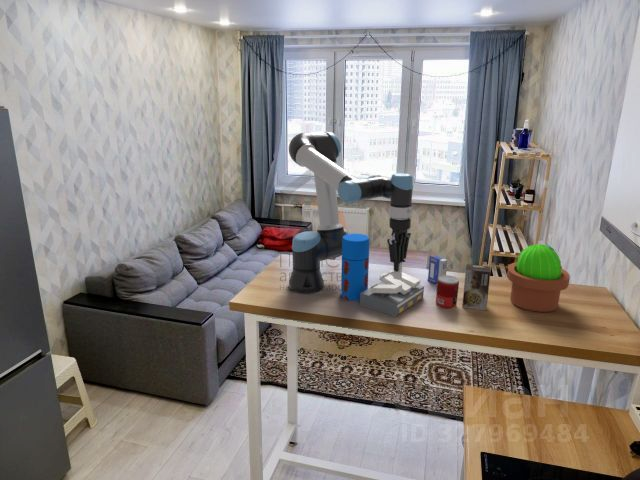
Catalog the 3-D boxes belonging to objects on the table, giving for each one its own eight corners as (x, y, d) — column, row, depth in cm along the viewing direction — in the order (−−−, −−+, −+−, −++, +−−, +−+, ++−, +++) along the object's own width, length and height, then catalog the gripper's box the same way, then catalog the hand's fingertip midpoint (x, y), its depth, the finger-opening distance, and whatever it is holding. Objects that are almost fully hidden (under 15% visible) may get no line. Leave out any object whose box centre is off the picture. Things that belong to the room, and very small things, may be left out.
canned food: (457, 309, 179) (459, 283, 175) (435, 307, 180) (438, 281, 177) (455, 301, 186) (458, 276, 183) (435, 299, 187) (437, 274, 184)
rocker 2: (379, 279, 185) (380, 274, 184) (385, 276, 188) (386, 271, 187) (404, 294, 179) (406, 289, 178) (410, 291, 182) (411, 286, 181)
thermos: (335, 295, 191) (336, 237, 184) (352, 287, 199) (353, 231, 191) (356, 303, 184) (358, 243, 177) (372, 295, 192) (375, 237, 184)
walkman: (427, 280, 207) (429, 255, 203) (432, 279, 208) (434, 254, 204) (440, 286, 200) (443, 260, 197) (445, 285, 202) (447, 259, 198)
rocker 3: (388, 276, 190) (389, 271, 189) (394, 273, 193) (395, 268, 193) (413, 287, 184) (415, 282, 183) (419, 284, 187) (420, 279, 186)
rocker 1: (370, 292, 180) (369, 286, 180) (376, 289, 184) (375, 283, 183) (396, 293, 172) (395, 287, 172) (402, 289, 176) (401, 283, 175)
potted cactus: (504, 310, 179) (512, 248, 171) (503, 288, 198) (511, 232, 191) (567, 319, 172) (579, 255, 164) (560, 296, 191) (570, 238, 184)
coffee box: (486, 304, 184) (491, 266, 179) (486, 311, 178) (491, 271, 173) (462, 301, 186) (466, 263, 182) (461, 307, 181) (465, 269, 176)
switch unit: (359, 304, 183) (360, 289, 181) (389, 287, 199) (390, 273, 197) (395, 316, 173) (396, 300, 171) (423, 297, 189) (424, 282, 187)
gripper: (400, 222, 159) (397, 286, 166) (418, 215, 169) (414, 275, 176) (381, 219, 164) (379, 281, 171) (400, 212, 173) (397, 271, 180)
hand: (397, 278), depth 173 cm, fingers closed
